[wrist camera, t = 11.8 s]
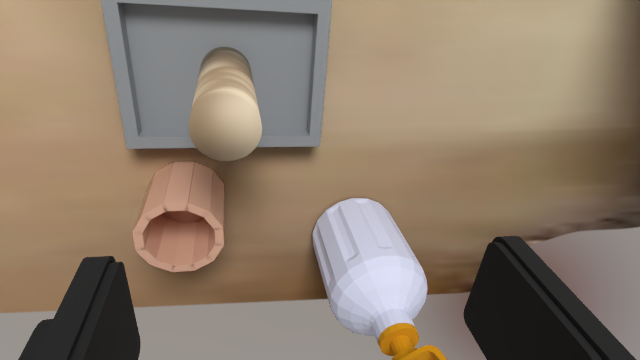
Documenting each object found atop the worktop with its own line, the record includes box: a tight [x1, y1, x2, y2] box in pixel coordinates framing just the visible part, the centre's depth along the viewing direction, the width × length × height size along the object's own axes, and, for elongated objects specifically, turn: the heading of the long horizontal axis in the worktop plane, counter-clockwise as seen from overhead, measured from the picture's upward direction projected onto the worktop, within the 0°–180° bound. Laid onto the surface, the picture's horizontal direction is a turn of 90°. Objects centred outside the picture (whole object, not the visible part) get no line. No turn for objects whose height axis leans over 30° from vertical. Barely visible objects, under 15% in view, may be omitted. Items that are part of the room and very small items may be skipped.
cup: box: [132, 162, 225, 272], centre depth 36 cm, size 7×7×7 cm
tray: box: [101, 0, 332, 149], centre depth 32 cm, size 16×12×2 cm
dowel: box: [188, 47, 262, 161], centre depth 27 cm, size 4×4×12 cm
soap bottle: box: [312, 198, 447, 360], centre depth 34 cm, size 9×9×25 cm
